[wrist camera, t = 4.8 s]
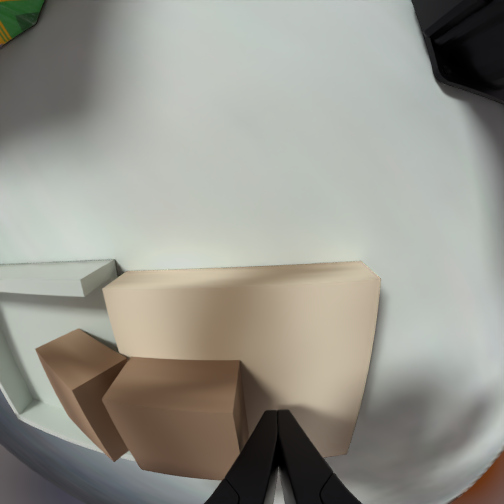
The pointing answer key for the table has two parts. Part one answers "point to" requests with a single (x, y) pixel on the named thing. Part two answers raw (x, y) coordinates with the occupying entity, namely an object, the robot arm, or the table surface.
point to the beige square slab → (262, 334)
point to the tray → (49, 333)
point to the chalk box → (17, 17)
